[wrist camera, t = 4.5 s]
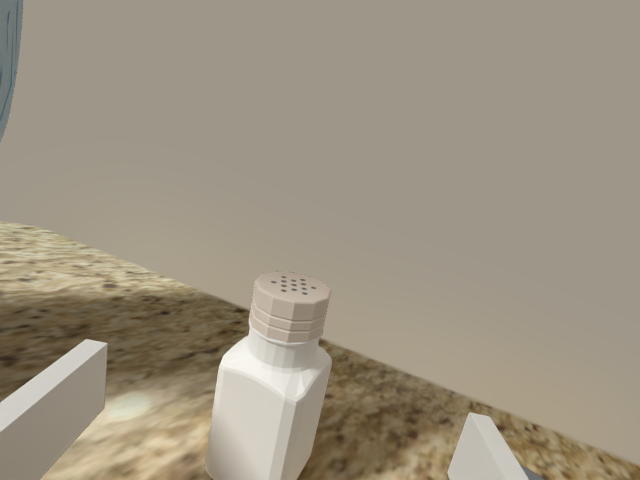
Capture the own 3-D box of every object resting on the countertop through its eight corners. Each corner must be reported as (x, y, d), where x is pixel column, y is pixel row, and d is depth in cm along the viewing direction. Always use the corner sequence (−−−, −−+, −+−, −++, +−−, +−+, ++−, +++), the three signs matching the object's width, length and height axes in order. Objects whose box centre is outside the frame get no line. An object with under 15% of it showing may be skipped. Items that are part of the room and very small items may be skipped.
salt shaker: (272, 527, 14) (317, 318, 11) (197, 477, 15) (224, 282, 13) (313, 456, 17) (353, 287, 15) (249, 421, 19) (277, 261, 17)
